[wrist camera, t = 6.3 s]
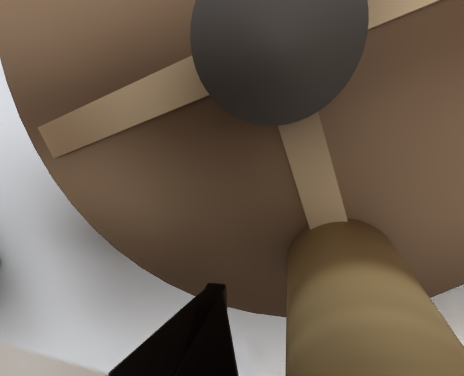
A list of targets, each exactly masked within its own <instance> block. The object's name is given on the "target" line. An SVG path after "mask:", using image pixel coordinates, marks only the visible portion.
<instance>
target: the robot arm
mask: <svg viewBox="0 0 464 376" xmlns="http://www.w3.org/2000/svg"><path fill="white" fill-rule="evenodd" d="M108 376H239V375H238V370H237V364H236V358H235V353H234V347H233V342H232V336H231V331H230V325H229V320H228V314H227V288H226V285H225V284H221V283H207V285H206V287H205V288H204V290H203V291H201V292H200V293H199V294H198V295H197V296H196V297H195V298H193V299H192V300H191V301H190V302H189V303H188V304H187V305H185V306H184V307H183V308H182V309H181V310H180V311H179V312H177V313H176V314H175V315H174V316H173V317H172V318H171V319H169V320H168V321H167V322H166V323H165V324H164V325H163V326H161V327H160V328H159V329H158V330H157V331H156V332H155V333H154V334H152V335H151V336H150V337H149V338H148V339H147V340H146V341H144V342H143V343H142V344H141V345H140V346H139V347H138V348H136V349H135V350H134V351H133V352H132V353H131V354H130V355H128V356H127V357H126V358H125V359H124V360H123V361H122V362H120V363H119V364H118V365H117V366H116V367H115V368H114V369H112V370H111V371H110V372H109V374H108Z"/></svg>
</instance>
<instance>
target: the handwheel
mask: <svg viewBox="0 0 464 376" xmlns="http://www.w3.org/2000/svg"><path fill="white" fill-rule="evenodd" d="M0 59H1V62H2V66H3V70H4V74H5V77H6V81H7V84H8V86H9V89H10V92H11V95H12V97H13V100H14V103H15V105H16V108H17V111H18V113H19V116H20V118H21V121H22V123H23V125H24V127H25V129H26V131H27V133H28V135H29V137H30V139H31V141H32V143H33V145H34V148H35V150H36V151H37V153H38V155H39V156H40V158H41V160H42V161H43V163H44V165H45V166H46V168H47V169H48V171H49V173H50V174H51V176H52V178H53V179H54V181H55V182H56V183H57V185H58V186H59V187H60V189H61V190H62V191H63V193H64V194H65V195H66V197H67V198H68V200H69V201H70V202H71V204H72V205H73V206H74V207H75V208H76V209H77V210H78V212H79V213H80V214H81V215H82V216H83V217H84V218H85V219H86V220H87V222H88V223H89V224H90V225H91V226H92V227H93V228H94V229H95V230H96V231H97V232H98V233H99V234H100V235H102V236H103V237H104V238H105V239H106V240H107V241H108V242H109V243H110V244H111V245H113V246H114V247H115V248H116V249H117V250H118V251H120V252H121V253H122V254H124V255H125V256H126V257H128V258H129V259H130V260H132V261H133V262H134V263H136V264H137V265H139V266H140V267H141V268H143V269H145V270H146V271H148V272H150V273H151V274H153V275H155V276H156V277H158V278H160V279H161V280H163V281H165V282H166V283H168V284H170V285H173V286H175V287H177V288H179V289H181V290H183V291H185V292H188V293H190V294H192V295H194V296H197V295H198V294H199V293H200V292H201V291H203V290H204V288H205V287H206V285H207V283H221V284H225V285H226V288H227V307H231V308H235V309H239V310H244V311H248V312H252V313H258V314H266V315H273V316H281V317H287V322H286V376H464V347H463V345H462V344H461V342H460V341H459V339H458V338H457V337H456V335H455V334H454V332H453V331H452V329H451V328H450V326H449V325H448V324H447V322H446V321H445V319H444V318H443V316H442V315H441V314H440V312H439V311H438V309H437V308H436V306H435V305H434V303H433V302H432V301H431V299H430V297H433V296H435V295H438V294H440V293H443V292H445V291H448V290H450V289H453V288H455V287H458V286H460V285H463V284H464V0H0Z"/></svg>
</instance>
